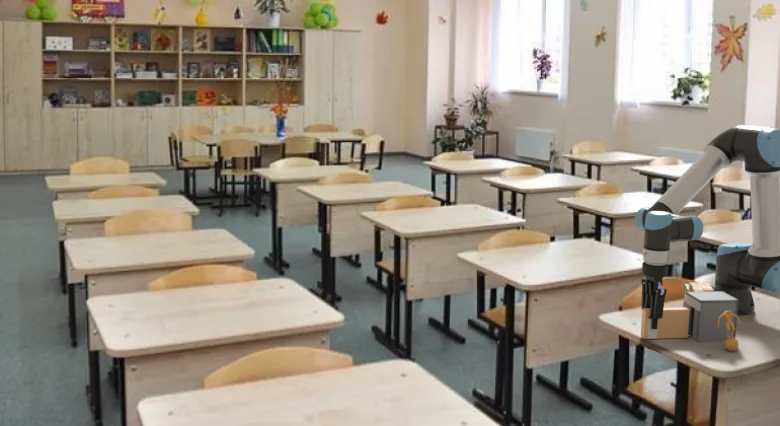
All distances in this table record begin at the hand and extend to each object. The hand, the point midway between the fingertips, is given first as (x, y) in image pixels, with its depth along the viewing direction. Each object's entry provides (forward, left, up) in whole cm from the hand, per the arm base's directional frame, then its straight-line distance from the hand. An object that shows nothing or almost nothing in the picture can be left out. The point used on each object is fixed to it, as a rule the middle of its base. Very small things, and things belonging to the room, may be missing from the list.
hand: (649, 336), depth 261 cm
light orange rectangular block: (-5, 0, 0) cm, 5 cm away
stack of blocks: (-24, -18, -1) cm, 30 cm away
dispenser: (-19, 0, -1) cm, 19 cm away
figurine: (-19, +12, -1) cm, 23 cm away
